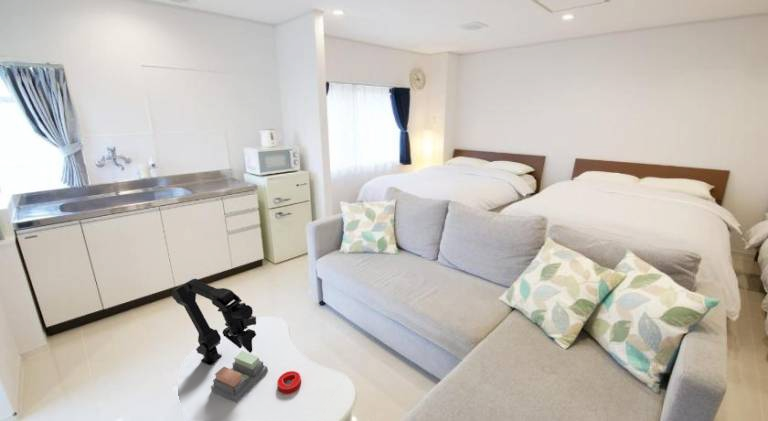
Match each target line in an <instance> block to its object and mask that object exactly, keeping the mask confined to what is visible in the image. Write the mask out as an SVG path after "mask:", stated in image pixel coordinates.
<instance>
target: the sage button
mask: <svg viewBox="0 0 768 421" xmlns="http://www.w3.org/2000/svg"><path fill="white" fill-rule="evenodd" d="M260 361H261V360H260V357H259V356H256V355H254V354H251V353H250V352H246V351H244V350H241V351H240V352H239V353H237V355H235V357H234V362H235V363H236V364H238V365H240V366H243V367H245V368H247V369H250V370H252V371H253V370H254V369H255V368H256V367H257V366H258V365H259V364H260Z"/></svg>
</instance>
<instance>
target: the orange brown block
mask: <svg viewBox="0 0 768 421" xmlns="http://www.w3.org/2000/svg"><path fill="white" fill-rule="evenodd" d="M214 375H215V378H216V380H217V381H219V382H221V383H223V384H226V385H228V386H230V387H232V388H235V387H236V386H237V385H238V384H239V383H240V382H241V381H242V375H241V373H238V372H236V371H233V370H231V368H228V367H226V366H223V367H221V368H220V369H219V370H218V371H217V372H215V373H214Z"/></svg>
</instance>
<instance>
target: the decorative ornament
mask: <svg viewBox="0 0 768 421" xmlns="http://www.w3.org/2000/svg"><path fill="white" fill-rule="evenodd" d="M290 381H291V384H288V385H287V384H286V383H287V382H290ZM276 385H277V389H278V391H279V393H280V394H283V395H291V394H293V393H294V394H295V392H297V391H298V390H299V389H300V388H301V385H302V377H301V375H300V373H299V372H297V371H295V370H290V371H286V372H284V373H283V374H280V376H279V377H278V379H277V384H276Z"/></svg>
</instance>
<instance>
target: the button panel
mask: <svg viewBox="0 0 768 421" xmlns="http://www.w3.org/2000/svg"><path fill="white" fill-rule="evenodd" d="M230 369H231V370H233V371H236V372H238V373H241V375H242V381H241V382H240V383H239V384H238V385H237V386H236V387H235V388H232V387H230V386H228V385H226V384H223V383H221V382H219V381H217V380H216V377H215V378H214V379H213V381H212V382H213V384H212V385H211V386H210V389H211V392H212V393H215V394H216V395H219V396H220V397H222V398H225V399H227V400H229V401H231V402H234V403H235V404H237V403H238V402H239V401H240V400H241V399H242V398H243V397H244V396H245V395H246V394H247V393H248V392H249V391H250V390H251V389H252V388H253V387H254V386H255V385H256V384H257V383H258V382H259V380H261V379H262V377H263V376H265V375H266V373H267V372H269V370H268V366H267V365H264V361H261V360H260V364H259V365H258V366H257V367H256V368H255V369H254V370H253V371H252V370H250V369H247V368H245V367H243V366H240V365H238V364H236V363H235V361H233V363H232V367H231V368H230Z"/></svg>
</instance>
